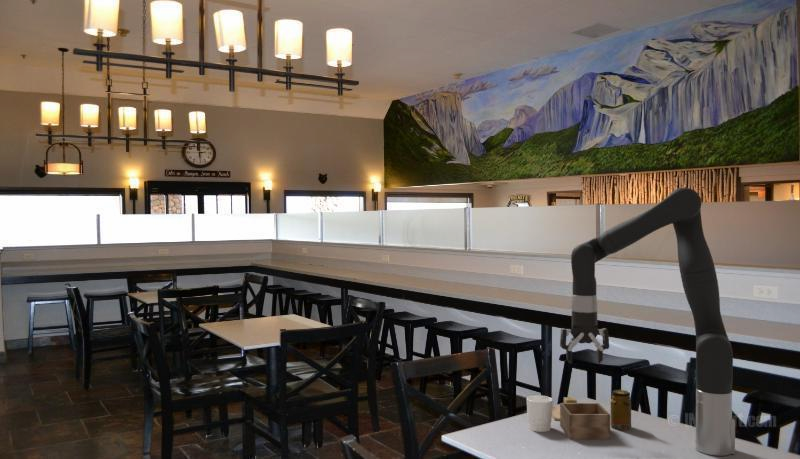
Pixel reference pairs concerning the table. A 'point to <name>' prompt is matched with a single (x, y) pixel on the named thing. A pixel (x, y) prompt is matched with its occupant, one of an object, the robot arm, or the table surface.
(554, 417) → the lid
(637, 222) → the robot arm
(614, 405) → the condiment
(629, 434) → the table surface
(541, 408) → the white cup
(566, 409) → the box
